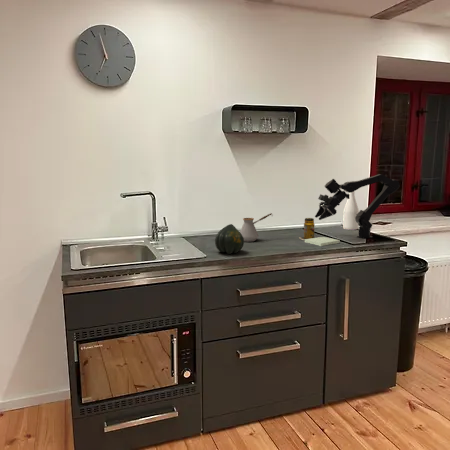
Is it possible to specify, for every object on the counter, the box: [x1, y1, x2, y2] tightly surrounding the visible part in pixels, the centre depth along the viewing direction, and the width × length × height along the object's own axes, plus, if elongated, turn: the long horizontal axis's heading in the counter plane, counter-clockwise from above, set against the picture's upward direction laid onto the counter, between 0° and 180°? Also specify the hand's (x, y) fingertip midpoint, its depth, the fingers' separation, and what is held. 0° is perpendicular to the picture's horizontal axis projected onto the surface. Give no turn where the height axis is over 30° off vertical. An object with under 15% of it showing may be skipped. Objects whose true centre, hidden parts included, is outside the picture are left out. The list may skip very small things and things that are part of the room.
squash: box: [214, 223, 245, 255], centre depth 225 cm, size 14×15×15 cm
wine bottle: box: [342, 191, 360, 231], centre depth 284 cm, size 10×10×30 cm
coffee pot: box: [239, 212, 274, 243], centre depth 255 cm, size 21×12×15 cm, turn 112°
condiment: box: [298, 217, 315, 241], centre depth 256 cm, size 7×8×12 cm
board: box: [304, 236, 341, 247], centre depth 245 cm, size 14×13×2 cm
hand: (317, 218), depth 255 cm, fingers open, 9 cm apart
